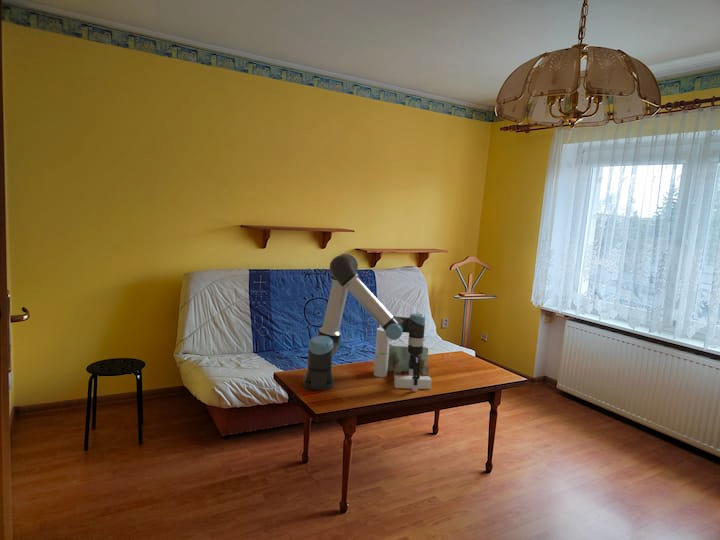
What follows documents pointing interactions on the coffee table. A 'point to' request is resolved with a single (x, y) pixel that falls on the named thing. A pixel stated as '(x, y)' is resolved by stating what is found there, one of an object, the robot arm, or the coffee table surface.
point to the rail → (406, 381)
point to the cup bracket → (405, 360)
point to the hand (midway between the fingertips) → (412, 386)
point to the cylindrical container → (381, 353)
